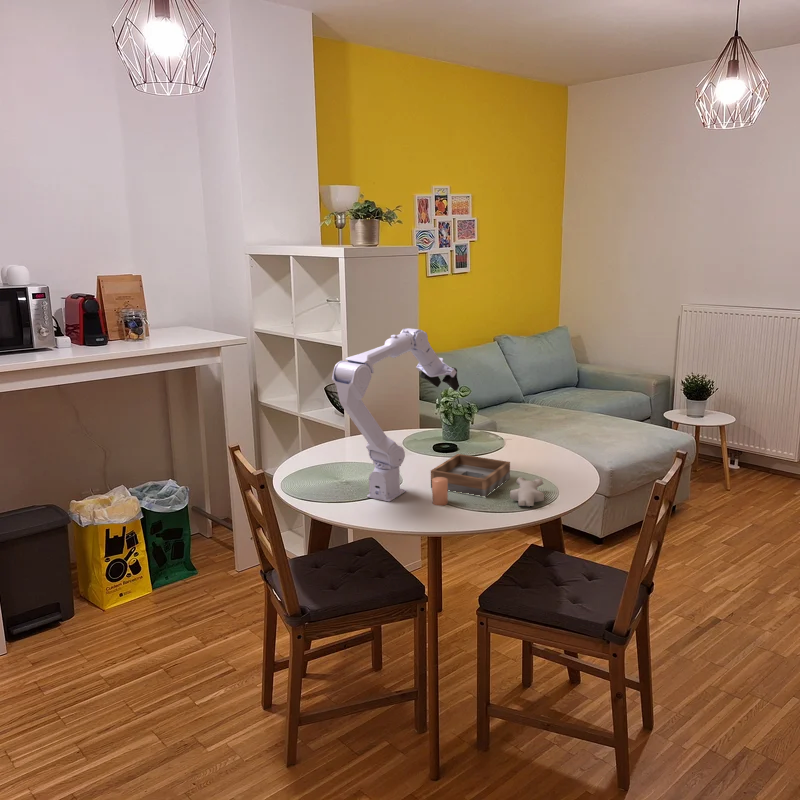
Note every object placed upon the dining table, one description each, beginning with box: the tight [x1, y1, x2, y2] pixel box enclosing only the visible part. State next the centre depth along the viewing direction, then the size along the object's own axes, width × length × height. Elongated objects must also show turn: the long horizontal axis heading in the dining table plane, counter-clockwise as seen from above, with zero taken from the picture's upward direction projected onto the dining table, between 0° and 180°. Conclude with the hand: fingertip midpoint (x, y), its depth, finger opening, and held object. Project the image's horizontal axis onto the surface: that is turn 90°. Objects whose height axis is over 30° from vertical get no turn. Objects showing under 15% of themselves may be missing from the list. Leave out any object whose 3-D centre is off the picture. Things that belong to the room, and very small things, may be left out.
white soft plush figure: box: [509, 477, 545, 507], centre depth 209 cm, size 10×5×15 cm
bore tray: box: [430, 453, 511, 498], centre depth 223 cm, size 18×18×6 cm
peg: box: [431, 477, 449, 507], centre depth 208 cm, size 4×4×7 cm
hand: (447, 386), depth 229 cm, fingers open, 7 cm apart
